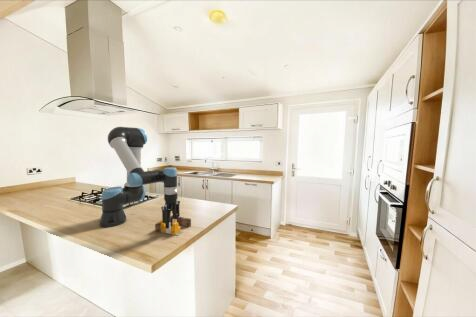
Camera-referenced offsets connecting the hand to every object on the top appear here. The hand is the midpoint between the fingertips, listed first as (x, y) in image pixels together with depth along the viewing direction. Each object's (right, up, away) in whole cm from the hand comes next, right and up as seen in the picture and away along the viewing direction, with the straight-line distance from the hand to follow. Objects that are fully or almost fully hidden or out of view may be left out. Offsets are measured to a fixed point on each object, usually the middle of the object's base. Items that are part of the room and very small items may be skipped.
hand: (171, 231), depth 113 cm
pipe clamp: (-1, 0, 0) cm, 1 cm away
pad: (0, -1, 0) cm, 1 cm away
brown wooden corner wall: (0, 0, +4) cm, 4 cm away
